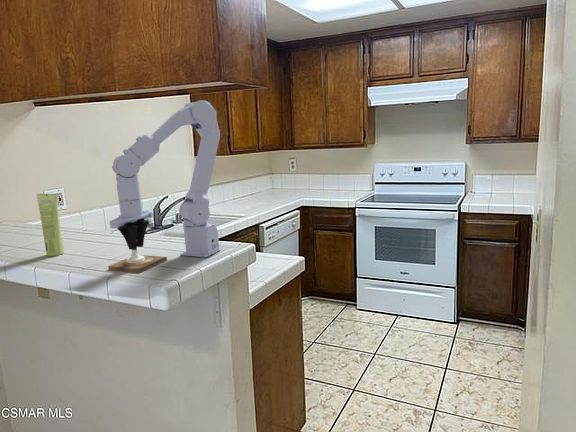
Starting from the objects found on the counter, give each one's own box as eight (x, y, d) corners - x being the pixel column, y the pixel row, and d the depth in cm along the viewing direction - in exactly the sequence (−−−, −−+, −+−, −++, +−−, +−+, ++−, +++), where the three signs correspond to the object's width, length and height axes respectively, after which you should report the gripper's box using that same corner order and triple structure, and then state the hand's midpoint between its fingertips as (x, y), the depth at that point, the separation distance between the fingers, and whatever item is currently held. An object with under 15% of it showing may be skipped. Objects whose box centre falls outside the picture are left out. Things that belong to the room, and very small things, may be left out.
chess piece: (140, 263, 120) (135, 227, 118) (123, 263, 120) (118, 228, 118) (147, 257, 125) (143, 223, 123) (131, 258, 125) (127, 224, 123)
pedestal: (167, 260, 125) (166, 256, 125) (140, 272, 115) (140, 268, 115) (136, 257, 130) (136, 253, 129) (108, 269, 120) (108, 265, 119)
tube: (66, 250, 142) (56, 191, 138) (66, 254, 138) (56, 193, 134) (46, 254, 140) (36, 193, 136) (46, 257, 135) (35, 195, 132)
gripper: (136, 195, 127) (142, 240, 130) (98, 204, 114) (105, 254, 116) (156, 195, 124) (161, 241, 127) (119, 204, 111) (126, 256, 114)
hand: (136, 247), depth 121 cm, fingers closed on chess piece, 2 cm apart
